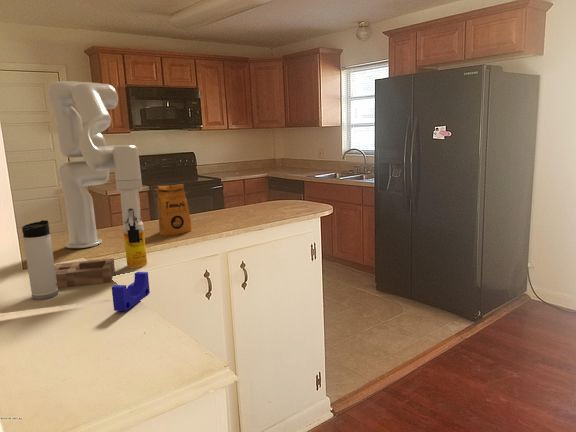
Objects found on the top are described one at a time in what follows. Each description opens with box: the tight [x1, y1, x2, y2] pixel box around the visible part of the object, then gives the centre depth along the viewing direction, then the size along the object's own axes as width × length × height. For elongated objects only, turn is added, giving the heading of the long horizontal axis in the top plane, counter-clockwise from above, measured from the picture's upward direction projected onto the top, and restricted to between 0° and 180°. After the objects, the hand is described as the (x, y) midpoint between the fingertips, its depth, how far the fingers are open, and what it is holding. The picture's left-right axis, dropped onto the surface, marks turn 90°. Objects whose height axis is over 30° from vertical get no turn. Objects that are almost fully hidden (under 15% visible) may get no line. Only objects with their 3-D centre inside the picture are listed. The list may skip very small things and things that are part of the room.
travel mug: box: [21, 219, 59, 301], centre depth 120 cm, size 6×7×20 cm
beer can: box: [122, 219, 148, 269], centre depth 144 cm, size 6×6×15 cm
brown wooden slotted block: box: [54, 257, 116, 289], centre depth 134 cm, size 12×17×4 cm
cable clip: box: [111, 271, 151, 312], centre depth 115 cm, size 12×4×6 cm, turn 169°
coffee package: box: [156, 183, 193, 237], centre depth 182 cm, size 10×12×22 cm
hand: (135, 239), depth 143 cm, fingers open, 9 cm apart
